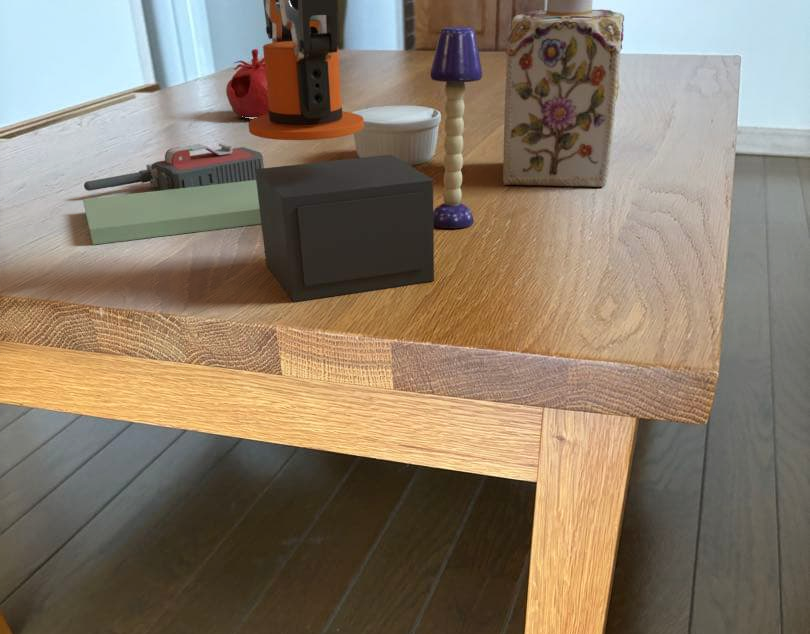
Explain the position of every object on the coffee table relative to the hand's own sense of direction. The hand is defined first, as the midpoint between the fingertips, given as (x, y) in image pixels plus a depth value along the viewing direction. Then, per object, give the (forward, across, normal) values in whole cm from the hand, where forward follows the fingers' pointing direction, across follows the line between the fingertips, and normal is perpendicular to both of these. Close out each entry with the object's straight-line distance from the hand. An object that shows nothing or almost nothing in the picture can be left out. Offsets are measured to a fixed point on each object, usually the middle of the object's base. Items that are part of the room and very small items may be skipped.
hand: (305, 109), depth 69 cm
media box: (+13, +2, +2) cm, 13 cm away
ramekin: (+13, -38, +20) cm, 45 cm away
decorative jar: (+13, -22, +34) cm, 42 cm away
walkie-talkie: (+13, -34, -7) cm, 37 cm away
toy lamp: (+13, -9, +16) cm, 22 cm away
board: (+13, -22, -8) cm, 27 cm away
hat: (+1, 0, 0) cm, 1 cm away
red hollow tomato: (+13, -76, +11) cm, 77 cm away
